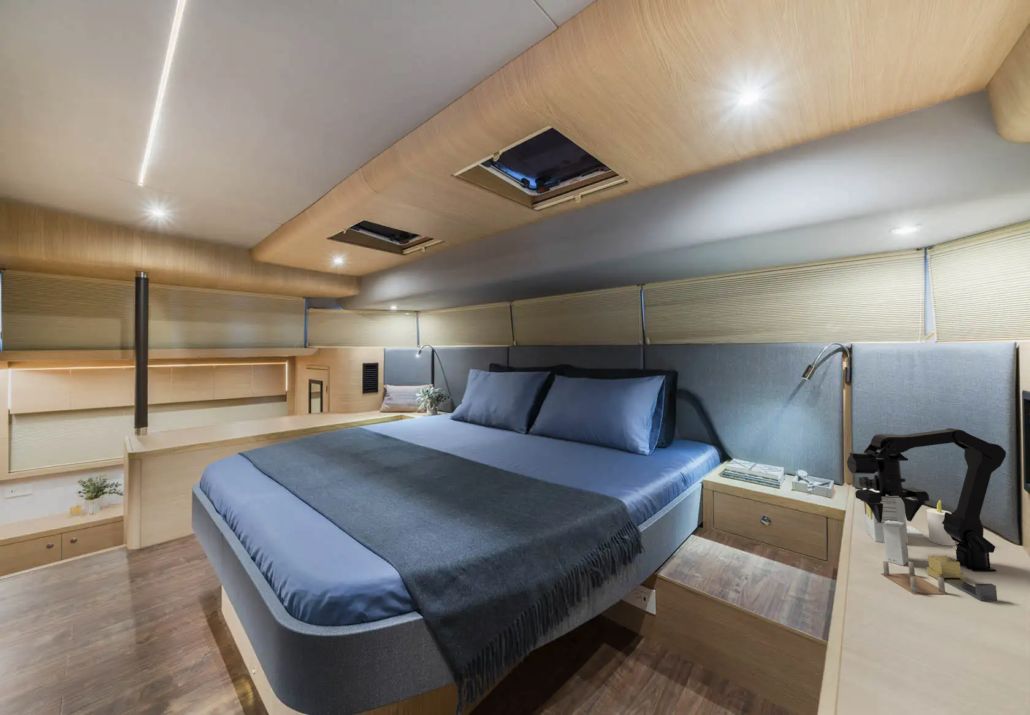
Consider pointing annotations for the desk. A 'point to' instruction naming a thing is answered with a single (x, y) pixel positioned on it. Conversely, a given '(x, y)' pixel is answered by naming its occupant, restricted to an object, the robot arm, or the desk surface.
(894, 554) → the skincare box
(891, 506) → the supplement box
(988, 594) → the rail
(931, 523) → the candle
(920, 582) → the peg cradle
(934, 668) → the desk surface
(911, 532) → the external hard drive
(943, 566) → the collar
